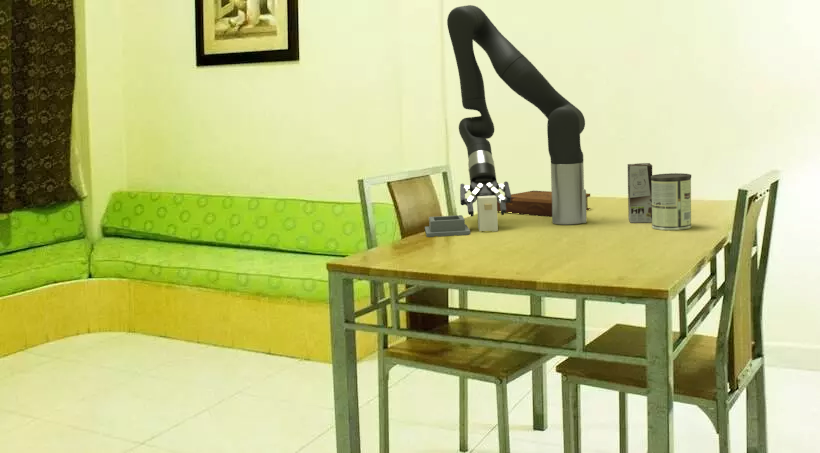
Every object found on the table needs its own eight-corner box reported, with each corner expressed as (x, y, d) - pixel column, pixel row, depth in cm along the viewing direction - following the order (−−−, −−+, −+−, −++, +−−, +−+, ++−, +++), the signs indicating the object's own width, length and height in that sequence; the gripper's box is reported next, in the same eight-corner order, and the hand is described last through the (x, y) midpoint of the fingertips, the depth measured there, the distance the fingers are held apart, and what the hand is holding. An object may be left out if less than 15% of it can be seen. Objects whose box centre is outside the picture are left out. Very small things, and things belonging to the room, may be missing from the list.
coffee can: (654, 224, 236) (654, 173, 234) (693, 224, 231) (693, 173, 229) (648, 230, 227) (647, 177, 224) (688, 230, 222) (688, 176, 220)
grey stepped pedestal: (466, 227, 247) (465, 214, 246) (470, 234, 234) (470, 220, 233) (424, 230, 246) (424, 216, 246) (426, 237, 234) (426, 222, 233)
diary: (497, 214, 276) (496, 196, 275) (534, 207, 288) (533, 190, 288) (554, 218, 259) (553, 199, 258) (590, 211, 272) (590, 192, 271)
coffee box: (653, 222, 239) (652, 165, 236) (629, 223, 240) (628, 165, 238) (650, 218, 248) (650, 162, 245) (627, 218, 249) (627, 163, 246)
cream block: (495, 228, 243) (494, 195, 241) (498, 231, 237) (497, 197, 235) (478, 229, 243) (476, 196, 241) (480, 232, 237) (479, 198, 235)
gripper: (457, 162, 245) (462, 207, 235) (507, 160, 245) (514, 204, 235) (457, 179, 251) (461, 223, 241) (505, 176, 251) (512, 220, 241)
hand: (487, 214), depth 238 cm, fingers open, 8 cm apart
